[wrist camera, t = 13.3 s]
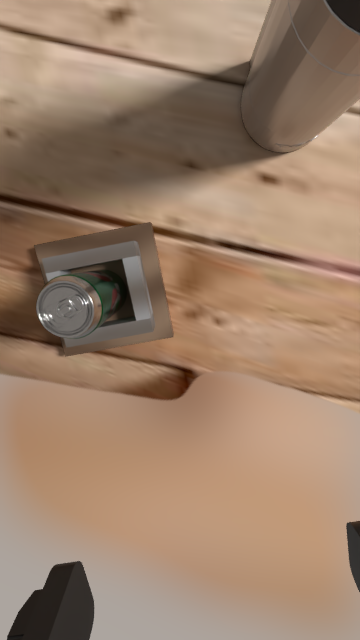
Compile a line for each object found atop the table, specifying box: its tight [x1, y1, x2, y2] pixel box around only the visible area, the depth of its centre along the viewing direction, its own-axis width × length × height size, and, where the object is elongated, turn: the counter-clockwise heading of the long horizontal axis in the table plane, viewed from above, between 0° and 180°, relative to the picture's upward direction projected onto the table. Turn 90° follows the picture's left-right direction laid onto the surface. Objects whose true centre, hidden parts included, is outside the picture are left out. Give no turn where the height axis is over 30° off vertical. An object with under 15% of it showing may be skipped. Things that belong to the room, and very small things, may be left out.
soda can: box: [36, 269, 127, 339], centre depth 28 cm, size 5×5×12 cm
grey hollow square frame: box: [34, 222, 174, 356], centre depth 33 cm, size 13×13×4 cm
